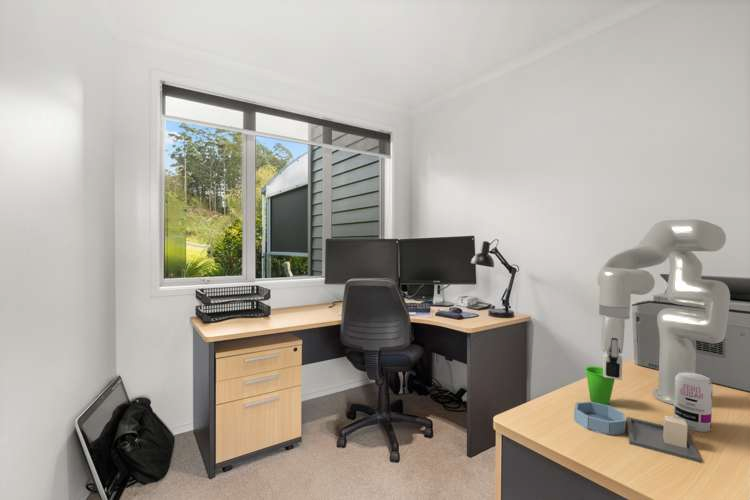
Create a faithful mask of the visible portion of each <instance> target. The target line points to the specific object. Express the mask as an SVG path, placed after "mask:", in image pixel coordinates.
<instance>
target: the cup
mask: <svg viewBox="0 0 750 500" xmlns="http://www.w3.org/2000/svg"><path fill="white" fill-rule="evenodd" d="M584 370H585V371H586V373H585V374H586V379H587V385H588V393H589V400H590V402H595V403H599V404H604V405H608V406H610V402H611V398H612V392H613V388H614V383H615V380H616V379H612V378H607V377H603V366H602V367H601V366H594V365H592V366H591V365H590V366H586V367H585V368H584Z"/></svg>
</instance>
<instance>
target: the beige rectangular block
mask: <svg viewBox="0 0 750 500" xmlns="http://www.w3.org/2000/svg"><path fill="white" fill-rule="evenodd" d="M662 425H663V438H664V441H665V443H668V444H672V445H676V446H680V447H684V448H687V431H688V429H687V423H686V421H685V420H684V419H679V418H674V416H670V415H663V424H662Z"/></svg>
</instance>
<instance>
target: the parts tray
mask: <svg viewBox="0 0 750 500" xmlns="http://www.w3.org/2000/svg"><path fill="white" fill-rule="evenodd" d="M663 425H664V424H660V423H656V422H652V421H647V420H645V419H644V420H643V419H638V418H635V417H630V416H626V426H627V434H628V442H629V445H632V446H636V447H639V448H643V449H647V450H652V451H654V452H659V453H662V454H666V455H669V456H673V457H677V458H681V459H685V460H689V461H692V462H696V463H701V458H700V456H699V453H698V451H697V450H696V447H695V445H694V442H693V440H692V438H691V435H690V433H689V431H688V430H687V448H684V447H680V446H676V445H672V444H668V443H665V441H664V438H663Z"/></svg>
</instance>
